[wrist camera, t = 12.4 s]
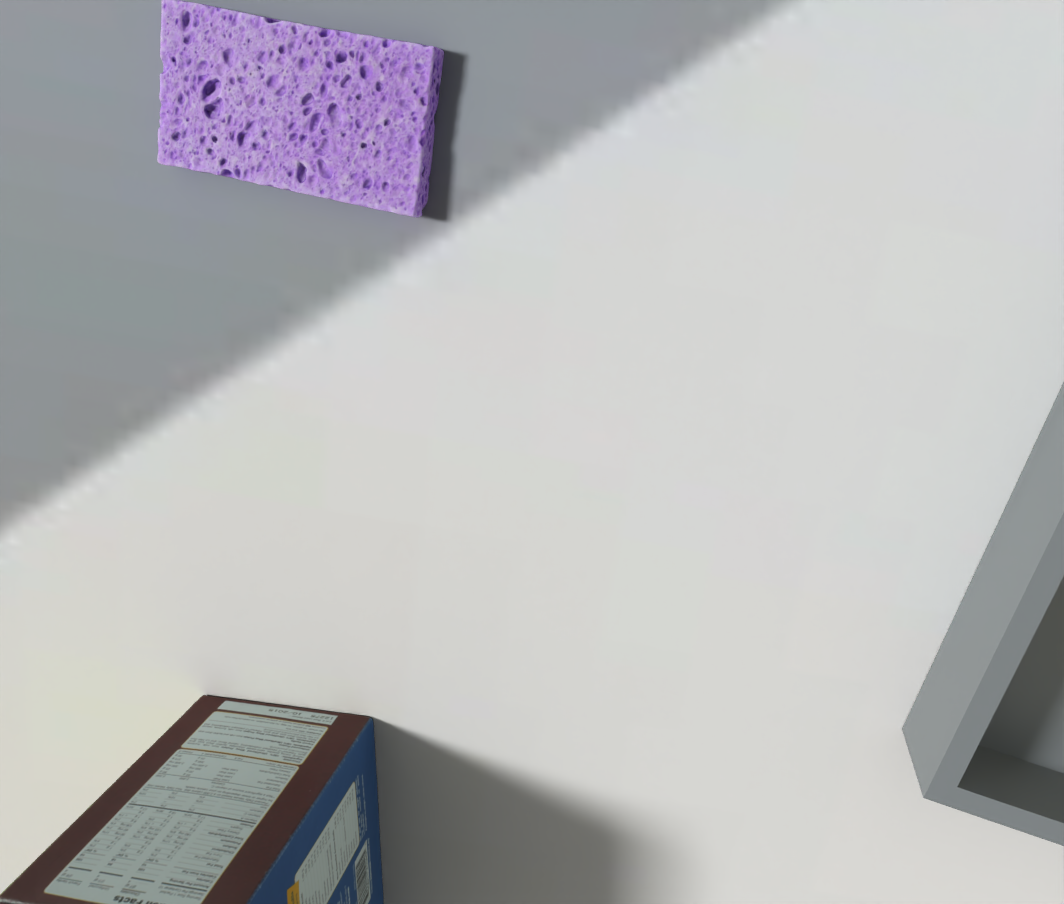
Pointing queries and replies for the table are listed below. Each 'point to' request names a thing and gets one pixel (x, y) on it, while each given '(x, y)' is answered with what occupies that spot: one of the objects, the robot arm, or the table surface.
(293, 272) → the table surface
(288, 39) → the sponges
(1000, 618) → the tray
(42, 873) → the protein box
